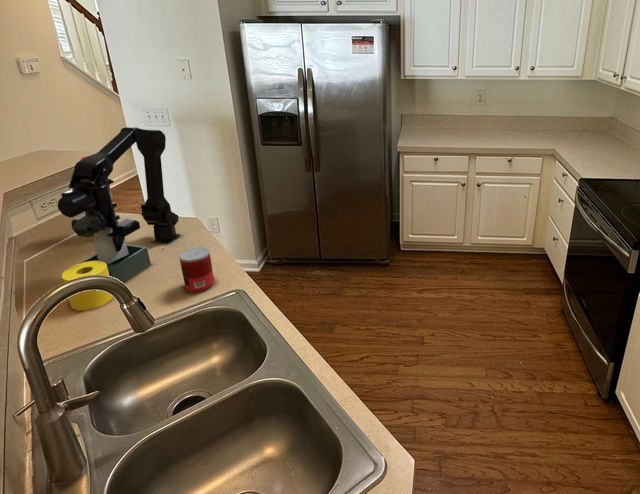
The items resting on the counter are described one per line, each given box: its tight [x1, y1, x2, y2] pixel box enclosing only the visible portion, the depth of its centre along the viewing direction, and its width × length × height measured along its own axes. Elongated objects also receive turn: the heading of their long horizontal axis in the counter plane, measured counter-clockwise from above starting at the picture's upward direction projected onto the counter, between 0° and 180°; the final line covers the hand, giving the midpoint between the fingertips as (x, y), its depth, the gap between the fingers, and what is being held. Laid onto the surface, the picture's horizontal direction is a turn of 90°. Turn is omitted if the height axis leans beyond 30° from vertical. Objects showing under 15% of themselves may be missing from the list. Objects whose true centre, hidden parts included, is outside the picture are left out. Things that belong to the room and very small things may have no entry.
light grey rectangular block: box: [93, 228, 129, 264], centre depth 129 cm, size 4×7×10 cm, turn 152°
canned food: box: [179, 246, 215, 293], centre depth 126 cm, size 8×8×11 cm
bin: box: [78, 243, 152, 284], centre depth 132 cm, size 14×12×7 cm
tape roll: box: [61, 261, 114, 311], centre depth 119 cm, size 10×10×9 cm
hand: (112, 249), depth 130 cm, fingers closed on light grey rectangular block, 4 cm apart
